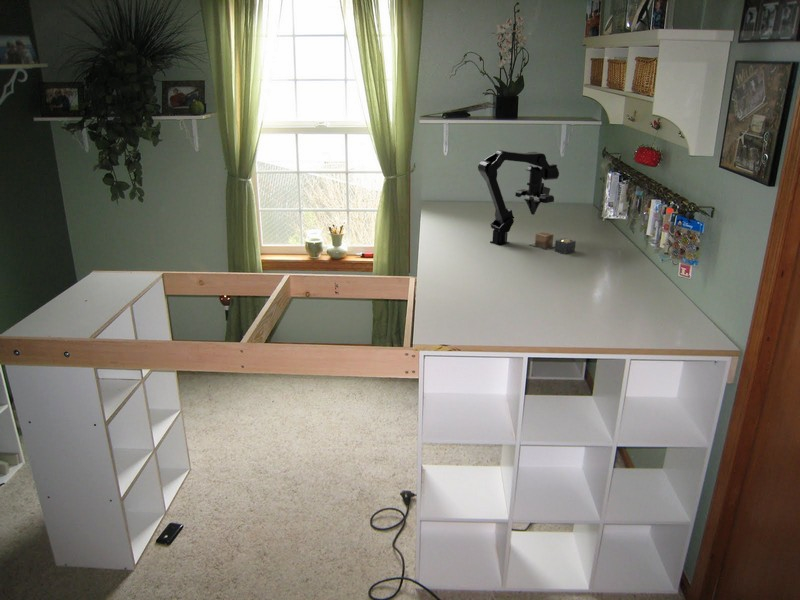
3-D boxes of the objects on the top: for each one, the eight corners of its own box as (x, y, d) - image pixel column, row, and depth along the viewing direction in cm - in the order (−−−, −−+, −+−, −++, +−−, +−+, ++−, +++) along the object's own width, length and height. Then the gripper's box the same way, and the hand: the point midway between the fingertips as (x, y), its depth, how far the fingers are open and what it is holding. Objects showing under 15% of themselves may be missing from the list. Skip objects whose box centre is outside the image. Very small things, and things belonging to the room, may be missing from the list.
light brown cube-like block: (544, 247, 289) (545, 236, 287) (535, 244, 293) (535, 234, 291) (552, 245, 292) (553, 234, 290) (542, 242, 296) (543, 232, 294)
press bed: (545, 249, 287) (545, 249, 287) (529, 245, 293) (529, 244, 293) (558, 246, 292) (558, 245, 292) (542, 242, 299) (542, 241, 298)
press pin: (565, 252, 282) (566, 241, 280) (558, 250, 284) (559, 239, 283) (570, 251, 284) (571, 240, 282) (563, 249, 287) (564, 238, 285)
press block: (565, 254, 280) (567, 243, 279) (554, 251, 285) (555, 240, 283) (574, 251, 284) (575, 240, 282) (563, 248, 288) (564, 238, 286)
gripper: (563, 181, 290) (560, 216, 296) (532, 175, 304) (529, 208, 310) (547, 184, 284) (544, 219, 290) (515, 178, 298) (513, 211, 303)
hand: (532, 214), depth 298 cm, fingers closed
